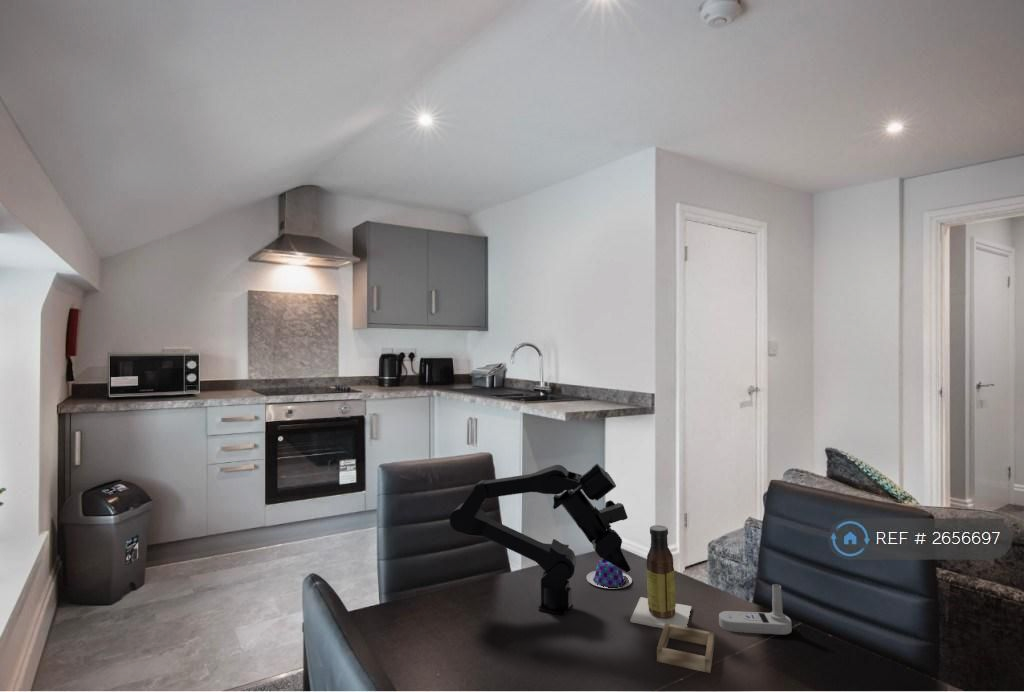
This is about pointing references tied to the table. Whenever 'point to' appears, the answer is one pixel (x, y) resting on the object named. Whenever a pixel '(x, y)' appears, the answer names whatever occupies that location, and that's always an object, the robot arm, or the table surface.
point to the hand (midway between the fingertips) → (624, 565)
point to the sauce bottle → (660, 575)
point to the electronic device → (758, 619)
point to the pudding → (607, 575)
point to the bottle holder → (683, 657)
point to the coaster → (646, 618)
